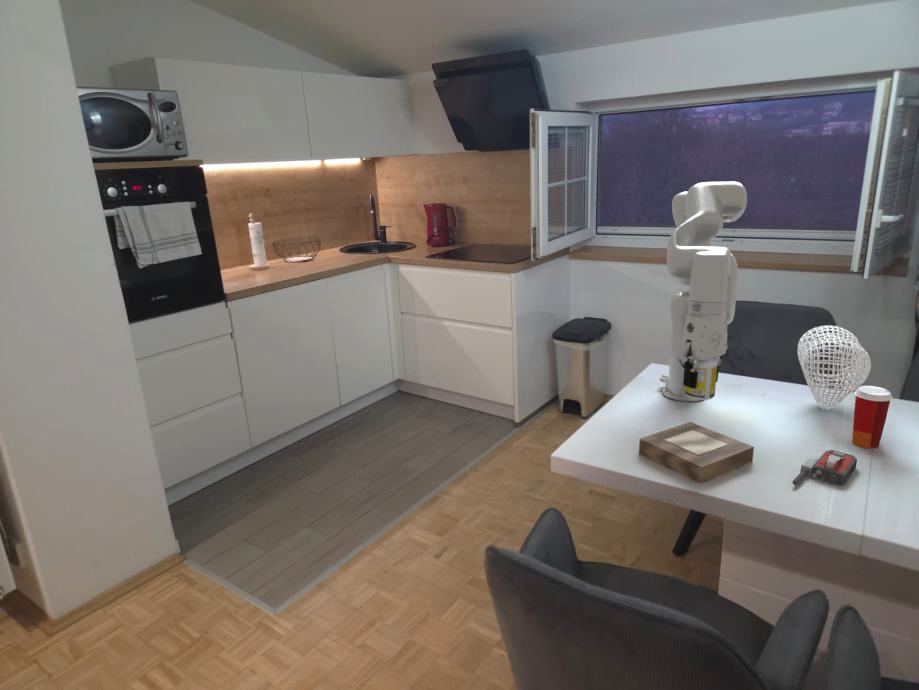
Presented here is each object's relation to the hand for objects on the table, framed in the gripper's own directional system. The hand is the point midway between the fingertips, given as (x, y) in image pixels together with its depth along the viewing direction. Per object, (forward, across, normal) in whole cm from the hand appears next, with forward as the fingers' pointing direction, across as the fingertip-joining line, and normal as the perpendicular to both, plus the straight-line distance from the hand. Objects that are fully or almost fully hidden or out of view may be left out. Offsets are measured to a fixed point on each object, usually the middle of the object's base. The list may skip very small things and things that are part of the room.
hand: (700, 383), depth 145 cm
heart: (+19, +54, 0) cm, 57 cm away
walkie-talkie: (+20, +16, -22) cm, 33 cm away
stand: (+19, 0, 0) cm, 19 cm away
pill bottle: (+3, 0, 0) cm, 3 cm away
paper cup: (+19, +40, -18) cm, 48 cm away
